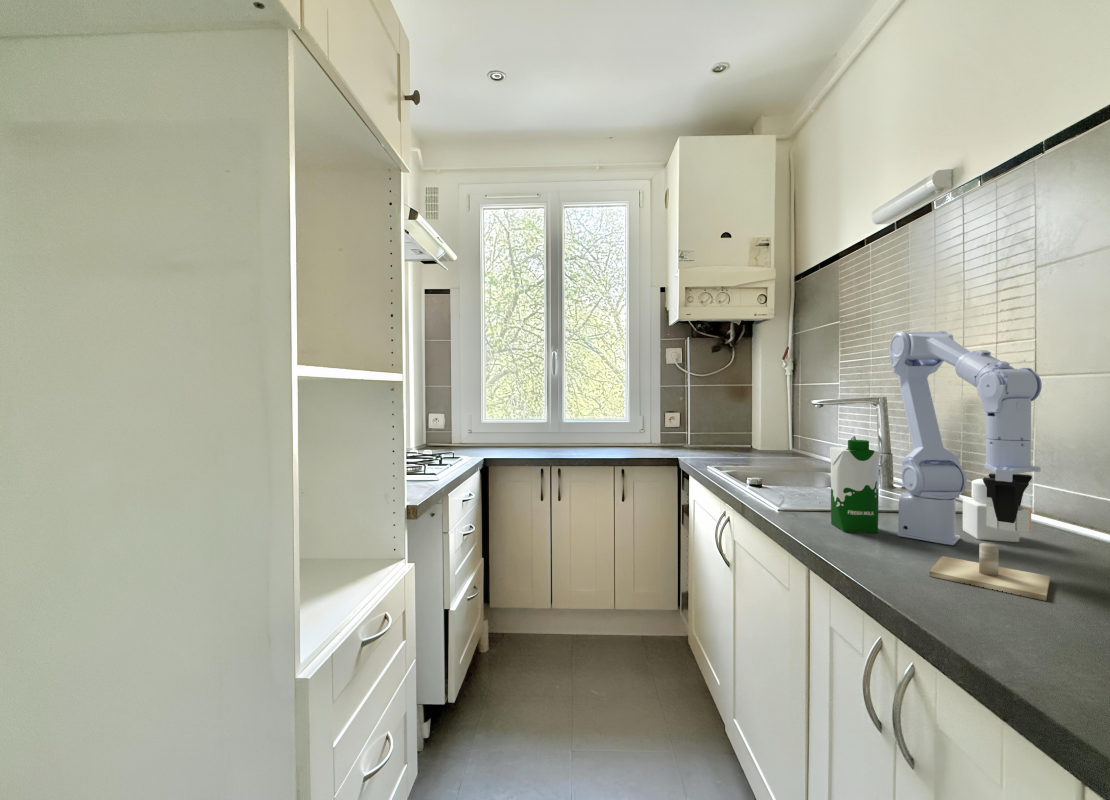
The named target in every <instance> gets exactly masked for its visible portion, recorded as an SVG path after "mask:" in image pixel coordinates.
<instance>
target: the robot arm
mask: <svg viewBox="0 0 1110 800" xmlns="http://www.w3.org/2000/svg"><path fill="white" fill-rule="evenodd" d="M991 354H992V352H991V351H989V350H987V349H979V350H972V351H970V350H968V349H967V348H966V347H964V346H963V345H962V344H960V343H958V342H957V341H956V340H954V336H953V334H951V333H950V332H949V333H948V332H947V331H945V330H937V331H897V332H896V333H894V334H893V336H892V338H891V339H890V342H889V346H888V355H889V359H890V365H891V369H892V372H893V373H895V374H896V375H897V381H898V385H899V390H900V396H901V399H902V406H903V409H904V413H905V414H904V415H905V418H906V423H907V427H908V428H907V429H908V432H909V437H910V441H911V445H912V451H910V452H909V453H908V454H907V455H906V456H904V458H903V459H902V460H901V467H902V470H901V481H902V485H903V487H904V488H905V490H906V491H907V492H902V493H900V496H899V500H898V533H897V536H898V537H902V538H908V539H913V540H914V539H915V540H920V541H924V542H925V541H926V542H932V543H936V544H941V545H949V546H954V545H956V544H957V542H958V541H959V540H960V539H961V535H958V534H956V499H960V495H961V494H962V493H963V492H964V491H965V490H966V488H967V485H968V478H967V477H968V475H967V474H966V472H965V470H964V468H963V467H962V465H961V463H960V459H959V457H958V456H957V455H956V454H954V453H953V452H951V451H949V450H948V449H946V448H945V447H944V445H943V444H944V443H943V440H942V435H941V431H940V428H939V427H940V426H939V423H938V419H937V415H936V411H935V407H934V406H935V405H934V401H933V397H932V392H931V389H930V386H929V381H928V378H929V376H930V375H931V374H934V373H936V372H938V370H939V369H940V367H941V365H942V364H943V363H944V362H945V363H946V364H947V363H948V365H951V366H953V367H954V368H955V369H954V371H955V374H956V375H957V376H958V377H959V378H961V379H962V380H964V381H966V382H967V383H969V384H970V385H972V386H973V387H974V388H976V391H977V394H978V397H979V398H980V400H981V409H983V412H984V413H985V463H984V465H983V467H984V469H986V470H989V471H991V472H993V473H989V474H988V475H987V476H988V477H983V478H982V479H983V482H984V484H985V486H986V487H987V489H988V491H989V493H990V495H991V498H992V501H993V506H994V510H995V514H996V518H997V520H998V521H1001V522H1008V523H1014V522H1015V519H1016V516H1017V512H1018V507H1019V505H1020V506H1022V501H1023V496H1024V492H1025V491H1026V489H1027V488H1028V486H1030V485H1029V484H1030V482H1031V480H1033V476H1032V475H1030V474H1025V473H1031V472H1038V473H1040V472H1041V469H1042V468H1041V466H1037V465H1036V466H1035V465H1031V463H1032V461H1031V460H1032V459H1031V458H1032V402H1033V401H1035V400H1037V398H1038V397H1039V396H1040V394H1041V391H1042V379H1041V377H1040V375H1039V374H1038V372H1036V371H1034V369H1032V368H1031V367H1020V368H1014V367H1013V366H1011V365H1010V363H1009V362H1007V361H1006V360H1005V361H1003V360H1000V359H998V358H996V357H994V356H992V355H991Z"/></svg>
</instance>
